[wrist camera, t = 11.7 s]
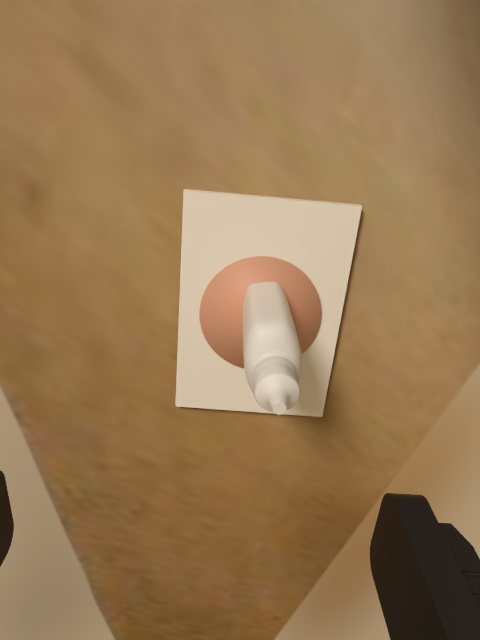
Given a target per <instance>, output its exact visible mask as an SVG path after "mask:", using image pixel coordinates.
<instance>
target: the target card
mask: <svg viewBox="0 0 480 640" xmlns="http://www.w3.org/2000/svg"><path fill="white" fill-rule="evenodd" d="M361 210H362V206H361V205H358V204H347V203H336V202H325V201H314V200H303V199H292V198H280V197H269V196H258V195H247V194H236V193H225V192H214V191H203V190H192V189H184V196H183V223H182V249H181V275H180V302H179V328H178V354H177V381H176V406H177V407H191V408H205V409H219V410H232V411H246V412H260V413H274V412H269V411H267V410H265V409H263V408H261V407H260V405H258V403H257V401H256V400H255V397H254V394H253V392H252V390H251V388H250V386H249V384H248V381H247V378H246V374H245V369H244V356H243V304H244V299H245V295H246V292H247V290H248V287H249V286H250V285H251V284H253V283H259V282H277V283H279V284H280V285H281V287H282V289H283V291H284V293H285V295H286V298H287V301H288V305H289V308H290V312H291V315H292V319H293V322H294V326H295V330H296V333H297V337H298V341H299V344H300V349H301V355H302V372H301V378H300V382H299V386H300V397H299V400H298V401H297V403H296V404H295V405H294V406H293V407H292V408H290V409H288V410H286V412H285V413H284V414H287V415H301V416H315V417H322V416H323V411H324V405H325V400H326V395H327V389H328V384H329V379H330V374H331V368H332V363H333V358H334V352H335V347H336V342H337V337H338V331H339V326H340V321H341V316H342V310H343V305H344V300H345V294H346V289H347V284H348V279H349V273H350V268H351V263H352V257H353V252H354V247H355V242H356V236H357V231H358V226H359V221H360V215H361ZM274 414H275V413H274Z"/></svg>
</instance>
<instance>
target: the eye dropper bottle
mask: <svg viewBox="0 0 480 640" xmlns="http://www.w3.org/2000/svg"><path fill="white" fill-rule="evenodd" d="M243 356H244V369H245V374H246V378H247V381H248V384H249V386H250V388H251V390H252V392H253V394H254V397H255V400H256V401H257V403H258V405H260V407H261V408H263V409H265V410H267V411H269V412H274V413H275V414H277V415H282V414H284V413H285V412H286V410H288V409H290V408H292V407H293V406H294V405H295V404H296V403H297V401H298V400H299V397H300V386H299V382H300V378H301V372H302V355H301V349H300V344H299V341H298V337H297V333H296V330H295V326H294V322H293V319H292V315H291V312H290V308H289V305H288V301H287V298H286V295H285V293H284V291H283V289H282V287H281V285H280V284H279V283H277V282H259V283H253V284H251V285H250V286H249V287H248V290H247V292H246V295H245V299H244V304H243Z"/></svg>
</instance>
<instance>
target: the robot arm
mask: <svg viewBox="0 0 480 640" xmlns="http://www.w3.org/2000/svg"><path fill="white" fill-rule="evenodd" d="M13 529H14V524H13V518H12V513H11V507H10V503H9V496H8V491H7V486H6V481H5V477H4V474H3V473H2V471H0V566H1V564H2V563H3V561H4V559H5V557H6V555H7V553H8V550H9V547H10V545H11V541H12V537H13ZM370 563H371V570H372V575H373V579H374V582H375V586H376V590H377V593H378V596H379V600H380V604H381V607H382V611H383V614H384V618H385V621H386V625H387V628H388V632H389V635H390V639H391V640H480V559H479V557H478V555H477V554H476V552H475V550H474V548H473V546H472V545H471V544H470V543H469V542H468V541H467V540H466V539H465V538H464V537H463V536H462V535H461V534H460V533H459V531H458V530H457V529H456V528H455V527H454V526H453V525H452V524H447V523H438V521H437V519H436V517H435V515H434V513H433V511H432V509H431V507H430V505H429V503H428V501H427V499H426V498H425V497H424V496H422V495H410V494H392V493H387V494H385V495H384V497H383V500H382V503H381V507H380V511H379V514H378V518H377V522H376V525H375V529H374V533H373V537H372V540H371V546H370Z"/></svg>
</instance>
